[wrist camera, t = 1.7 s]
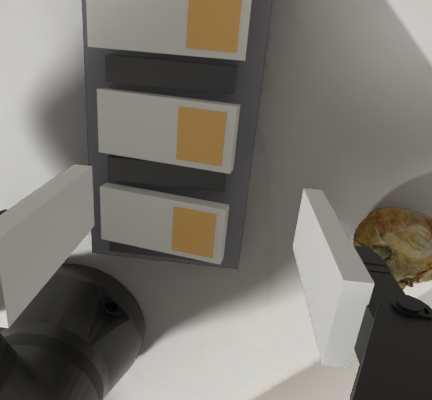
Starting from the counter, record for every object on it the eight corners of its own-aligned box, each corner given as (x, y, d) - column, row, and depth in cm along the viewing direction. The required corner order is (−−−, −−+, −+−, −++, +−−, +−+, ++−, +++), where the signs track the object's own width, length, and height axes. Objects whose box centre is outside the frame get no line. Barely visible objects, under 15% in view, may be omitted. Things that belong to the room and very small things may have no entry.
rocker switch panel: (238, 253, 39) (237, 274, 35) (103, 238, 39) (88, 258, 35) (275, -44, 29) (280, -58, 25) (94, -60, 29) (73, -76, 25)
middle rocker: (233, 169, 30) (229, 174, 28) (106, 148, 32) (98, 152, 31) (240, 104, 28) (236, 106, 27) (104, 87, 30) (96, 88, 29)
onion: (403, 276, 38) (441, 331, 31) (330, 251, 38) (352, 300, 30) (444, 213, 36) (497, 256, 28) (367, 184, 35) (400, 221, 28)
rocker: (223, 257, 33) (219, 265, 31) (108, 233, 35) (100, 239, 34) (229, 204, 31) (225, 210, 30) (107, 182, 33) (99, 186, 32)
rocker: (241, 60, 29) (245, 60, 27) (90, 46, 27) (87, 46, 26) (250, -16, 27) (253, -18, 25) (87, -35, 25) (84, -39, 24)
